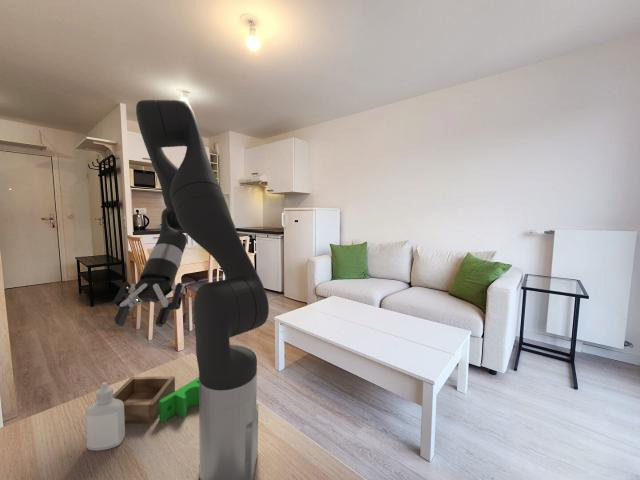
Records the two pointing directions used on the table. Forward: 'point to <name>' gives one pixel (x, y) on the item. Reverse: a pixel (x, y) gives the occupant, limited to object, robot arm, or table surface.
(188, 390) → the pipe clamp
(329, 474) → the table surface
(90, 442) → the eye dropper bottle
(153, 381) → the box
